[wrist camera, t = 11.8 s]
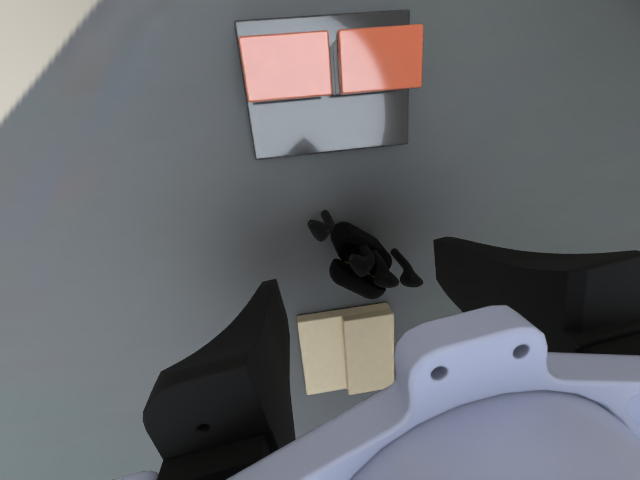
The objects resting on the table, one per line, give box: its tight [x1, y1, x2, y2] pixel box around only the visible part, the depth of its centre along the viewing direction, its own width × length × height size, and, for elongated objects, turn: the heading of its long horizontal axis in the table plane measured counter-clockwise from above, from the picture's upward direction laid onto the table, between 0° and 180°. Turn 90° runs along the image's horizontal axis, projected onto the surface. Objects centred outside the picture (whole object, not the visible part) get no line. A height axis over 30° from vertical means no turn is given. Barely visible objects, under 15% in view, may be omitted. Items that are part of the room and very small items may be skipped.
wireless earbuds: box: [308, 210, 423, 299], centre depth 17 cm, size 7×2×5 cm, turn 59°
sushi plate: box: [234, 10, 423, 160], centre depth 15 cm, size 6×8×3 cm
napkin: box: [297, 303, 394, 395], centre depth 22 cm, size 6×6×1 cm
